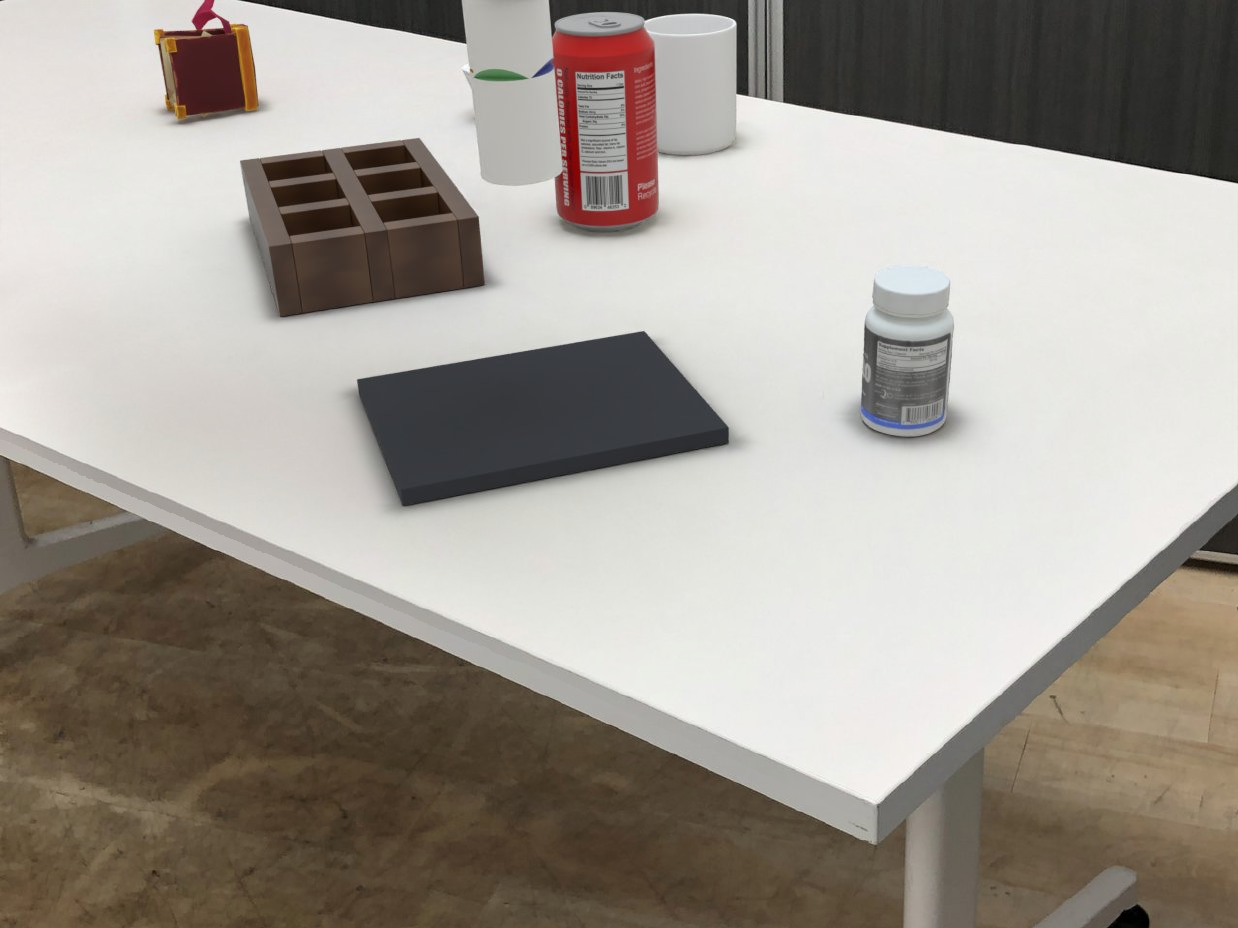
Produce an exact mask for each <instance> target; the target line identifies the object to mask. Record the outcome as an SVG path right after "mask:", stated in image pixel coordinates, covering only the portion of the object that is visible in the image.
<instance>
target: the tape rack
mask: <svg viewBox="0 0 1238 928" xmlns="http://www.w3.org/2000/svg"><path fill="white" fill-rule="evenodd" d="M239 164H240V170H241V176H242V182H243V189H244V193H245V194H244V195H245V200H246V205H247V206H246V207H247V211H248V218H249V223H250V226H251V229H252V232H253V236H254V239H255V241H256V246H257V248H258V251H259V254H260V257H261V261H262V264H263V267H264V271H265V273H266V276H267V281H268V283H269V286H270V289H271V292H272V296H273V299H274V302H275V306H276V308H277V311H278V315H279V317H286V316H294V315H299V314H306V313H312V312H317V311H325V310H331V309H339V308H344V307H351V306H356V305H364V304H369V303H373V302H374V303H377V302H382V301H390V300H395V299H403V298H408V297H416V296H421V295H428V294H429V295H430V294H436V293H441V292H448V291H455V290H460V289H467V288H474V287H479V286H484V285H486V283H485V270H484V262H483V260H484V259H483V247H482V237H481V226H480V217H479V215H478V214H477V213H476V211H475V210H474V208H473V207H472V206H471V205H470V203H469V202H468V200H467V198H465V196H464V195H463V194H462V192H461V191H460V190H459V188H458V187H457V186H456V184H455V183H454V181H452V179H451V178H450V176H449V175H448V174H447V172H446V171H445V169H444V168H443V167H442V166H441V164H440V163H439V162H438V160H437V159H436V158H435V156H434V155H433V153H432V152H431V151H430V149H429V148H428V147H427V146H426V144H425V143H424V142H423V140H422V139H421V138H420V137H415V138H408V139H398V140H391V141H390V140H389V141H383V142H373V143H366V144H357V145H351V146H343V147H342V146H341V147H335V148H327V149H320V150H319V149H318V150H313V151H305V152H296V153H290V154H289V153H288V154H282V155H281V154H279V155H272V156H265V157H260V158H259V157H257V158H249V159H248V158H247V159H241V160H239Z"/></svg>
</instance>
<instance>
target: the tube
mask: <svg viewBox="0 0 1238 928" xmlns="http://www.w3.org/2000/svg"><path fill="white" fill-rule="evenodd" d="M461 7H462V15H463V24H464V32H465V42H466V52H467V60H468V63H469V67H470V79H471V87H470V89H471V88H472V89H471V95H472V105H473V112H474V114H473V115H474V123H475V132H476V133H475V134H476V139H477V141H476V142H477V149H478V159H479V168H480V176H481V179H482V180H483V181H485V182H487V183H489V184H492V185H498V186H510V187H516V186H528V185H529V186H530V185H535V184H541V183H545V182H547V181H550V180H552V179H555V177H557V176H558V175H559V174H561V172H562V169H563V168H562V156H561V144H560V132H559V119H558V107H557V95H556V83H555V71H554V65H553V64H551V62H552V60H553V47H552V37H553V34H552V25H551V11H550V0H461Z"/></svg>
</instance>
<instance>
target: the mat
mask: <svg viewBox="0 0 1238 928" xmlns="http://www.w3.org/2000/svg"><path fill="white" fill-rule="evenodd" d="M356 383H357V389H358V395H359V398H360V400H361V404H363V407H364V411H365V413H366V416H367V418H368V421H369V423H370V425H371V429H372V430H373V434H374V436H375V438H376V442H377V444H378V446H379V448H380V451H381V454H382V456H383V459H384V461H385V464H386V467H387V469H388V472H389V474H390V477H391V479H392V481H393V484H394V487H395V489H396V492H397V494H398V497H399V499H400V503H401V505H402V506H408V505H414V504H419V503H424V502H429V501H434V500H441V499H446V498H451V497H456V496H460V495H465V494H471V493H476V492H480V491H487V490H492V489H496V488H502V487H506V486H512V485H519V484H524V483H529V482H534V481H538V480H544V479H549V478H554V477H555V478H556V477H559V476H565V475H570V474H575V473H580V472H585V471H590V470H596V469H600V468H606V467H611V466H617V465H622V464H626V463H627V464H628V463H631V462H637V461H642V460H648V459H653V458H659V457H663V456H667V455H668V456H669V455H673V454H678V453H684V452H689V451H695V450H699V449H705V448H709V447H715V446H721V445H725V444H729V443H730V442H729V441H730V433H729V431H730V427H729V426H728V425H727V424H726V422H725V421H724V420H723V419H722V418H721V417H720V415H718V413H717V412H716V411H715V410H714V408H713V407H712V406H711V405H710V404H709V403H708V402H707V401H706V400H705V398H704V397H703V396H702V395H701V394H700V393H699V391H698V390H697V389H696V388H695V387H694V386H693V384H691V383H690V381H689V380H688V378H686V377H685V376H684V374H683V373H682V372H681V371H680V370H679V368H678V367H676V365H675V364H674V363H673V362H672V361H671V359H670V358H669V357H668V356H667V355H666V354H665V353H664V352H663V351H662V350H661V348H660V347H659V346H658V344H656V342H655V341H654V340H653V339H652V338H651V336H649V334H648V333H647V331H645V330H640V331H635V332H629V333H624V334H617V335H612V336H611V335H610V336H605V337H599V338H593V339H587V340H582V341H575V342H570V343H565V344H558V345H551V346H546V347H541V348H535V349H529V350H522V351H517V352H511V353H505V354H499V355H494V356H486V357H482V358H475V359H469V360H464V361H457V362H450V363H446V364H440V365H434V366H428V367H427V366H426V367H422V368H416V369H409V370H403V371H398V372H392V373H386V374H379V375H374V376H368V377H363V378H357V380H356Z"/></svg>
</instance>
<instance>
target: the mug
mask: <svg viewBox="0 0 1238 928" xmlns="http://www.w3.org/2000/svg"><path fill="white" fill-rule="evenodd" d="M644 27H645V29H646V31H647V32H648V34H649V35H650V36H651V38H652V39H653V41H654V44H655V69H656V109H657V148H658V153H662V154H665V155H666V154H667V155H675V156H698V155H699V156H700V155H705V154H706V155H707V154H711V153H716V152H719V151H722V150H725V149H727V148H728V147H730V146H731V145H732V144H733V143H734V140H735V139H736V134H737V27H738V26H737V21H736V20H735V19H733V18H730V17H727V16H723V15H717V14H710V13H679V14H668V15H663V16H662V15H661V16H657V17H653V18H650V19H649V18H648V19H646V20H645V24H644Z"/></svg>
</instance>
